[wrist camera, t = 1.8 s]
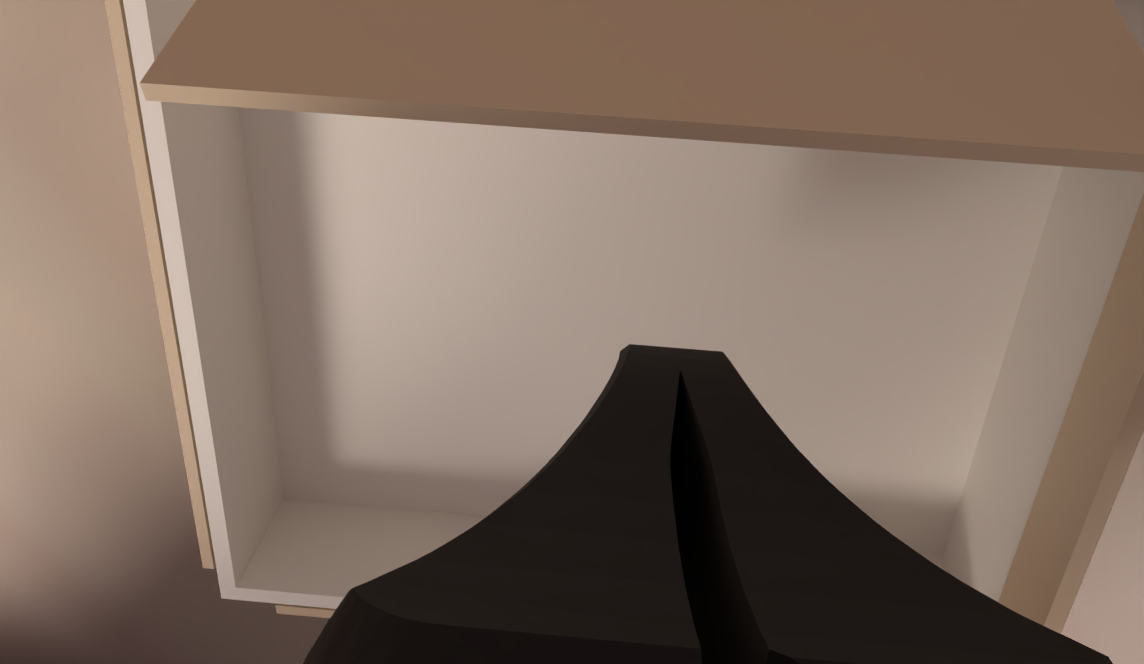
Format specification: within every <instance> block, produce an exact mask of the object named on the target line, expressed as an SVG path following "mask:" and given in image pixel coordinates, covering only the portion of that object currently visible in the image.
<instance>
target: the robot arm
mask: <svg viewBox="0 0 1144 664" xmlns="http://www.w3.org/2000/svg"><path fill="white" fill-rule="evenodd" d="M303 664H1113V663H1112V662H1111V660H1110V659H1109V657H1108V656H1106V655H1103V654H1101V653H1099V652H1097V651H1095V650H1093V649H1091V648H1089V647H1087V646H1085V645H1083V644H1081V643H1078V642H1076V641H1074V640H1072V639H1070V638H1068V637H1066V636H1064V635H1062V634H1060V633H1058V632H1056V631H1053V630H1051V629H1049V628H1047V627H1045V626H1043V625H1041V624H1039V623H1037V622H1035V621H1033V620H1030V619H1028V618H1026V617H1024V616H1022V615H1020V614H1018V613H1016V612H1015V611H1013V610H1011V609H1009V608H1007V607H1005V606H1004V605H1002V604H1000V603H998V602H997V601H995V600H993V599H992V598H990V597H988V596H986V595H985V594H983V593H981V592H979V591H978V590H976V589H974V588H972V587H971V586H969V585H967V584H965V583H964V582H962V581H960V580H959V579H957V578H956V577H954V576H953V575H951V574H949V573H948V572H946V571H945V570H943V569H941V568H940V567H938V566H937V565H935V564H934V563H932V562H931V561H929V560H928V559H926V558H925V557H923V556H922V555H921V554H919V553H918V552H916V551H915V550H914V549H912V548H911V547H909V546H908V545H906V544H905V543H904V542H902V541H901V540H899V539H898V538H896V537H895V536H894V535H892V534H891V533H890V532H888V531H887V530H886V529H885V528H883V527H882V526H881V525H879V524H878V523H877V522H875V521H874V520H873V519H872V518H870V517H869V516H868V515H867V514H866V513H865V512H863V511H862V510H861V509H860V508H859V507H858V506H856V505H855V504H854V503H853V502H852V501H851V500H849V499H848V498H847V497H846V496H845V495H844V494H842V493H841V492H840V491H839V490H838V489H837V488H836V487H835V486H834V485H833V484H832V483H830V482H829V481H828V480H827V479H826V478H825V477H824V476H823V475H822V474H821V473H820V472H819V471H818V470H817V469H816V468H815V467H814V466H813V465H812V464H811V462H810V461H809V460H808V459H807V458H806V457H805V456H804V455H803V454H802V453H801V452H800V451H799V450H798V449H797V448H796V447H795V445H794V444H793V443H792V442H791V441H790V440H789V438H788V437H787V436H786V435H785V433H784V432H783V431H782V430H781V429H780V427H779V426H778V425H777V424H776V423H775V421H774V420H773V419H772V418H771V416H770V415H769V414H768V413H767V411H766V410H765V409H764V407H763V406H762V405H761V403H760V402H759V401H758V399H757V398H756V397H755V395H754V394H753V393H752V391H751V390H750V388H749V387H748V386H747V384H746V383H745V381H744V380H743V379H742V377H741V376H740V374H739V373H738V371H737V370H736V368H735V367H734V366H733V364H732V363H731V361H730V360H729V359H728V357H727V356H726V355H725V354H724V352H721V351H709V350H697V349H684V348H672V347H660V346H647V345H635V344H629V345H628V346H626V347H625V348H624V349H622V350H621V351H620V355H619V359H618V362H617V364H616V367H615V369H614V371H613V373H612V375H611V377H610V379H609V381H608V382H607V384H606V386H605V388H604V390H603V391H602V393H601V394H600V396H599V397H598V399H597V400H596V402H595V403H594V405H593V406H592V408H591V409H590V411H589V412H588V414H587V415H586V417H585V418H584V419H583V421H582V422H581V424H580V425H579V426H578V427H577V428H576V430H575V431H574V432H573V433H572V435H571V436H570V437H569V438H568V439H567V441H566V442H565V443H564V444H563V446H562V447H561V448H560V449H559V451H558V452H557V453H556V454H555V455H554V456H553V457H552V458H551V459H550V460H549V461H548V463H547V464H546V465H545V466H544V467H543V468H542V469H541V470H540V471H539V472H538V473H537V474H536V475H535V476H534V477H533V478H532V479H530V480H529V481H528V482H527V483H526V484H525V485H524V486H523V487H522V488H521V489H520V490H519V491H517V492H516V493H515V494H514V495H513V496H511V497H510V498H509V499H508V500H507V501H505V502H504V503H503V504H502V505H500V506H499V507H498V508H497V509H496V510H494V511H493V512H492V513H491V514H489V515H488V516H487V517H485V518H484V519H483V520H481V521H480V522H478V523H477V524H476V525H474V526H473V527H471V528H470V529H468V530H467V531H465V532H463V533H462V534H460V535H459V536H457V537H455V538H454V539H452V540H451V541H449V542H447V543H446V544H444V545H442V546H441V547H439V548H437V549H435V550H434V551H432V552H430V553H428V554H426V555H424V556H422V557H420V558H418V559H417V560H415V561H412V562H410V563H408V564H406V565H404V566H401V567H399V568H397V569H395V570H393V571H390V572H388V573H386V574H384V575H382V576H379V577H377V578H375V579H373V580H371V581H368V582H366V583H363V584H361V585H358V586H356V587H353V588H352V589H351V590H349V591H348V593H347V594H346V596H345V597H344V599H343V600H342V601H341V603H340V604H339V606H338V607H337V609H336V610H335V612H334V613H333V615H332V616H331V618H330V619H329V621H328V622H327V624H326V626H325V627H324V629H323V631H322V632H321V634H320V636H319V637H318V639H317V641H316V642H315V644H314V646H313V647H312V649H311V651H310V652H309V654H308V656H307V657H306V659H305V661H304V663H303Z"/></svg>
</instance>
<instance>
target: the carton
mask: <svg viewBox="0 0 1144 664" xmlns="http://www.w3.org/2000/svg"><path fill="white" fill-rule="evenodd" d="M195 1H196V0H105V6H106V12H107V18H108V24H109V29H110V35H111V41H112V47H113V52H114V58H115V64H116V70H117V75H118V81H119V87H120V93H121V99H122V104H123V110H124V116H125V122H126V127H127V133H128V139H129V145H130V150H131V156H132V162H133V168H134V174H135V179H136V185H137V191H138V197H139V202H140V208H141V214H142V220H143V225H144V231H145V237H146V243H147V249H148V254H149V260H150V266H151V272H152V277H153V283H154V289H155V295H156V300H157V306H158V312H159V318H160V323H161V329H162V335H163V341H164V347H165V352H166V358H167V364H168V370H169V375H170V381H171V387H172V393H173V398H174V404H175V410H176V416H177V422H178V427H179V433H180V439H181V445H182V450H183V456H184V462H185V468H186V473H187V479H188V485H189V491H190V497H191V502H192V508H193V514H194V520H195V525H196V531H197V537H198V543H199V548H200V554H201V560H202V566H203V568H207V569H214V568H215V566H216V569H217V575H218V581H219V587H220V593H221V598H222V599H233V600H244V601H255V602H266V603H276V605H275V606H276V613H277V614H288V615H298V616H309V617H320V618H331V616H332V615H333V613H334V612H335V610H336V609H337V607H338V606H339V604H340V603H341V601H342V600H343V599H344V597H345V596H346V594H347V593H348V591H349V590H351V589H352V588H353V587H356V586H358V585H361V584H363V583H366V582H368V581H371V580H373V579H375V578H377V577H379V576H382V575H384V574H386V573H388V572H390V571H393V570H395V569H397V568H399V567H401V566H404V565H406V564H408V563H410V562H412V561H415V560H417V559H418V558H420V557H422V556H424V555H426V554H428V553H430V552H432V551H434V550H435V549H437V548H439V547H441V546H442V545H444V544H446V543H447V542H449V541H451V540H452V539H454V538H455V537H457V536H459V535H460V534H462V533H463V532H465V531H467V530H468V529H470V528H471V527H473V526H474V525H476V524H477V523H478V522H480V521H481V520H483V519H484V518H485V517H487V516H488V515H489V514H491V513H492V512H493V511H494V510H496V509H497V508H498V507H499V506H500V505H502V504H503V503H504V502H505V501H507V500H508V499H509V498H510V497H511V496H513V495H514V494H515V493H516V492H517V491H519V490H520V489H521V488H522V487H523V486H524V485H525V484H526V483H527V482H528V481H529V480H530V479H532V478H533V477H534V476H535V475H536V474H537V473H538V472H539V471H540V470H541V469H542V468H543V467H544V466H545V465H546V464H547V463H548V461H549V460H550V459H551V458H552V457H553V456H554V455H555V454H556V453H557V452H558V451H559V449H560V448H561V447H562V446H563V444H564V443H565V442H566V441H567V439H568V438H569V437H570V436H571V435H572V433H573V432H574V431H575V430H576V428H577V427H578V426H579V425H580V424H581V422H582V421H583V419H584V418H585V417H586V415H587V414H588V412H589V411H590V409H591V408H592V406H593V405H594V403H595V402H596V400H597V399H598V397H599V396H600V394H601V393H602V391H603V390H604V388H605V386H606V384H607V382H608V381H609V379H610V377H611V375H612V373H613V371H614V369H615V367H616V364H617V362H618V359H619V355H620V351H621V350H622V349H624V348H625V347H626V346H628V345H629V344H635V345H647V346H660V347H672V348H684V349H697V350H709V351H721V352H724V354H725V355H726V356H727V357H728V359H729V360H730V361H731V363H732V364H733V366H734V367H735V368H736V370H737V371H738V373H739V374H740V376H741V377H742V379H743V380H744V381H745V383H746V384H747V386H748V387H749V388H750V390H751V391H752V393H753V394H754V395H755V397H756V398H757V399H758V401H759V402H760V403H761V405H762V406H763V407H764V409H765V410H766V411H767V413H768V414H769V415H770V416H771V418H772V419H773V420H774V421H775V423H776V424H777V425H778V426H779V427H780V429H781V430H782V431H783V432H784V433H785V435H786V436H787V437H788V438H789V440H790V441H791V442H792V443H793V444H794V445H795V447H796V448H797V449H798V450H799V451H800V452H801V453H802V454H803V455H804V456H805V457H806V458H807V459H808V460H809V461H810V462H811V464H812V465H813V466H814V467H815V468H816V469H817V470H818V471H819V472H820V473H821V474H822V475H823V476H824V477H825V478H826V479H827V480H828V481H829V482H830V483H832V484H833V485H834V486H835V487H836V488H837V489H838V490H839V491H840V492H841V493H842V494H844V495H845V496H846V497H847V498H848V499H849V500H851V501H852V502H853V503H854V504H855V505H856V506H858V507H859V508H860V509H861V510H862V511H863V512H865V513H866V514H867V515H868V516H869V517H870V518H872V519H873V520H874V521H875V522H877V523H878V524H879V525H881V526H882V527H883V528H885V529H886V530H887V531H888V532H890V533H891V534H892V535H894V536H895V537H896V538H898V539H899V540H901V541H902V542H904V543H905V544H906V545H908V546H909V547H911V548H912V549H914V550H915V551H916V552H918V553H919V554H921V555H922V556H923V557H925V558H926V559H928V560H929V561H931V562H932V563H934V564H935V565H937V566H938V567H940V568H941V569H943V570H945V571H946V572H948V573H949V574H951V575H953V576H954V577H956V578H957V579H959V580H960V581H962V582H964V583H965V584H967V585H969V586H971V587H972V588H974V589H976V590H978V591H979V592H981V593H983V594H985V595H986V596H988V597H990V598H992V599H993V600H995V601H997V602H998V601H999V598H1000V596H1001V593H1002V590H1003V587H1004V584H1005V581H1006V579H1007V576H1008V573H1009V570H1010V567H1011V565H1012V562H1013V559H1014V556H1015V553H1016V551H1017V548H1018V545H1019V542H1020V539H1021V537H1022V534H1023V531H1024V528H1025V525H1026V522H1027V520H1028V517H1029V514H1030V511H1031V508H1032V506H1033V503H1034V500H1035V497H1036V494H1037V492H1038V489H1039V486H1040V483H1041V480H1042V477H1043V475H1044V472H1045V469H1046V466H1047V463H1048V461H1049V458H1050V455H1051V452H1052V449H1053V447H1054V444H1055V441H1056V438H1057V435H1058V433H1059V430H1060V427H1061V424H1062V421H1063V418H1064V416H1065V413H1066V410H1067V407H1068V404H1069V402H1070V399H1071V396H1072V393H1073V390H1074V388H1075V385H1076V382H1077V379H1078V376H1079V374H1080V371H1081V368H1082V365H1083V362H1084V359H1085V357H1086V354H1087V351H1088V348H1089V345H1090V343H1091V340H1092V337H1093V334H1094V331H1095V329H1096V326H1097V323H1098V320H1099V317H1100V315H1101V312H1102V309H1103V306H1104V303H1105V300H1106V298H1107V295H1108V292H1109V289H1110V286H1111V284H1112V281H1113V278H1114V275H1115V272H1116V270H1117V267H1118V264H1119V261H1120V258H1121V256H1122V253H1123V250H1124V247H1125V244H1126V241H1127V239H1128V236H1129V233H1130V230H1131V227H1132V225H1133V222H1134V219H1135V216H1136V213H1137V211H1138V208H1139V205H1140V202H1141V199H1142V197H1143V194H1144V172H1135V171H1121V170H1107V169H1093V168H1080V167H1066V166H1052V165H1038V164H1024V163H1010V162H996V161H982V160H968V159H954V158H940V157H926V156H912V155H898V154H884V153H870V152H856V151H842V150H828V149H815V148H801V147H787V146H773V145H759V144H745V143H731V142H717V141H703V140H689V139H675V138H661V137H647V136H633V135H619V134H605V133H591V132H577V131H563V130H549V129H536V128H522V127H508V126H494V125H480V124H466V123H452V122H438V121H424V120H410V119H396V118H382V117H368V116H354V115H340V114H326V113H312V112H298V111H284V110H270V109H257V108H243V107H229V106H215V105H201V104H187V103H173V102H159V101H146V99H145V96H144V94H143V91H142V88H141V86H140V81H141V80H142V79H143V77H144V76H145V74H146V73H147V71H148V70H149V68H150V67H151V65H152V64H153V62H154V61H155V59H156V58H157V57H158V55H159V54H160V52H161V51H162V49H163V48H164V46H165V45H166V43H167V42H168V40H169V39H170V37H171V36H172V35H173V33H174V32H175V30H176V29H177V27H178V26H179V24H180V23H181V21H182V20H183V18H184V17H185V15H186V14H187V13H188V11H189V10H190V8H191V7H192V5H193V4H194V2H195ZM1113 1H1114V3H1115V4H1116V6H1117V8H1118V9H1119V11H1120V13H1121V15H1122V16H1123V18H1124V20H1125V22H1126V23H1127V25H1128V27H1129V28H1130V30H1131V32H1132V34H1133V35H1134V37H1135V39H1136V41H1137V42H1138V44H1139V46H1140V47H1141V49H1142V51H1143V53H1144V0H1113Z"/></svg>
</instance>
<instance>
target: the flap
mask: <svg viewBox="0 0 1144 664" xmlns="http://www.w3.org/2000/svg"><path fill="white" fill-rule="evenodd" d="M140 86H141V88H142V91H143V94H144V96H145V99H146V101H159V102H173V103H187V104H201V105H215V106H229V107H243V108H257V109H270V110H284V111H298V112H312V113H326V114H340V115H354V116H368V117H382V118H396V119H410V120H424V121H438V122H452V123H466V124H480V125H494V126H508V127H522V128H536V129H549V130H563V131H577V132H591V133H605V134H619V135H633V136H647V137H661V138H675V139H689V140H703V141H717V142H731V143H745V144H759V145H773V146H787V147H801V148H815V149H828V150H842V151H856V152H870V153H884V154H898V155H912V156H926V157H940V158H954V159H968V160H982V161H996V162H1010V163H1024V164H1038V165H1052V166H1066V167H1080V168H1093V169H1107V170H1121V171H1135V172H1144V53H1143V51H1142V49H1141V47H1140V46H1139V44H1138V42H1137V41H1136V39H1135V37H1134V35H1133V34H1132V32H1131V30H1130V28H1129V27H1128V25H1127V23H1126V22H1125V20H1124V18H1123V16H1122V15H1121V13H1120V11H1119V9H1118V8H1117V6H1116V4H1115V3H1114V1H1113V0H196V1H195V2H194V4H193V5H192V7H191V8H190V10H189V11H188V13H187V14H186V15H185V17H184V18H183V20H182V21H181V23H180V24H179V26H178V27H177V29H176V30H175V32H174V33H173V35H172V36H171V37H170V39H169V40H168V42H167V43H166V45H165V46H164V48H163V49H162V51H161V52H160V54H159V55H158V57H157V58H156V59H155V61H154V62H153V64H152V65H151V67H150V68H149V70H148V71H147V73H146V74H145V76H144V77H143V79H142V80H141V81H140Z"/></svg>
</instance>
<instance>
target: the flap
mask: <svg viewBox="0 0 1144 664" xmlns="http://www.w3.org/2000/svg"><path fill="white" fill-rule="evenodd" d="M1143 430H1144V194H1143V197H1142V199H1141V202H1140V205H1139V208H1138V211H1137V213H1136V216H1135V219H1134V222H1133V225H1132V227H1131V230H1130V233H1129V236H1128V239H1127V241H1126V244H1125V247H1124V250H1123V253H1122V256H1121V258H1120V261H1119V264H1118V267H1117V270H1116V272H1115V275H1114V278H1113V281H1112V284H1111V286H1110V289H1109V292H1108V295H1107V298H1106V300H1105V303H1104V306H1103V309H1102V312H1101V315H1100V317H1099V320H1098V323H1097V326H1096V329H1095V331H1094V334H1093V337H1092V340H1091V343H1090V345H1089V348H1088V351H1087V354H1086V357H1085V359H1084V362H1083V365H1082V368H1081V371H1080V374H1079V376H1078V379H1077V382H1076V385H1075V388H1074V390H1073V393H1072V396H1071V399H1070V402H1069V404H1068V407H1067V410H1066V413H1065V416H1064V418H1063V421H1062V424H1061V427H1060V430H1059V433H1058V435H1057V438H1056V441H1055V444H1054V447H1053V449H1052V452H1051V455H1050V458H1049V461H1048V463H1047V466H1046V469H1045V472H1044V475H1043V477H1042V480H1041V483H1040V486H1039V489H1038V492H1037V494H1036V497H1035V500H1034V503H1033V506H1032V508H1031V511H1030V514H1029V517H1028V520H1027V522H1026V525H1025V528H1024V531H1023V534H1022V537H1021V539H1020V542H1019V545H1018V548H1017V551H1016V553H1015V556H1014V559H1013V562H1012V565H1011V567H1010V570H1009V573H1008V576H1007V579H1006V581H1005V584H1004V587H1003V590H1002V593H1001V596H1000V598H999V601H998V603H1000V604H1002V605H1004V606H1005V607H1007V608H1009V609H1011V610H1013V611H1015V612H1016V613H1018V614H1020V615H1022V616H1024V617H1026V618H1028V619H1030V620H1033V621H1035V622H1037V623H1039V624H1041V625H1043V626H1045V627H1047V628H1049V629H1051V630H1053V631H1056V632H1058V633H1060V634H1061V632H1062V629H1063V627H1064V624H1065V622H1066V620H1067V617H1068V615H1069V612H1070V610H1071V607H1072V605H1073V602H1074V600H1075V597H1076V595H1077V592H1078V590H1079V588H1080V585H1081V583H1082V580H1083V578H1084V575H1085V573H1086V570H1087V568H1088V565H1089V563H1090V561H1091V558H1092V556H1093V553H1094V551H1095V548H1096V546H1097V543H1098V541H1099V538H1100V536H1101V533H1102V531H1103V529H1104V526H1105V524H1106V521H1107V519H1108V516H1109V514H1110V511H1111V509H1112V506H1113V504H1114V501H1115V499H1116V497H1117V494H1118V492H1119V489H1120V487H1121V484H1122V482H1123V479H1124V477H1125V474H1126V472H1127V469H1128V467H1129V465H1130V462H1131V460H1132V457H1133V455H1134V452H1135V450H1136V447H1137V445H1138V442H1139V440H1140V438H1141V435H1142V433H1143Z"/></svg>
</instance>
